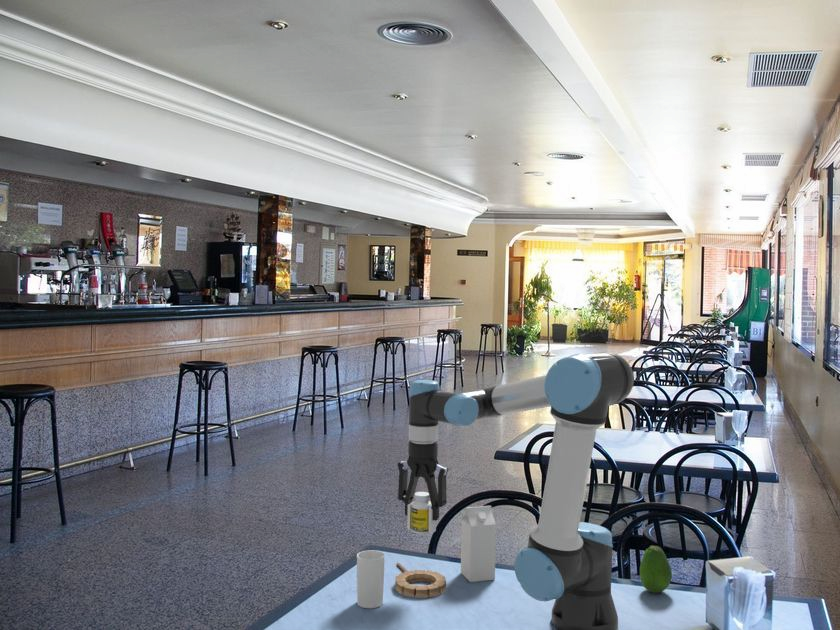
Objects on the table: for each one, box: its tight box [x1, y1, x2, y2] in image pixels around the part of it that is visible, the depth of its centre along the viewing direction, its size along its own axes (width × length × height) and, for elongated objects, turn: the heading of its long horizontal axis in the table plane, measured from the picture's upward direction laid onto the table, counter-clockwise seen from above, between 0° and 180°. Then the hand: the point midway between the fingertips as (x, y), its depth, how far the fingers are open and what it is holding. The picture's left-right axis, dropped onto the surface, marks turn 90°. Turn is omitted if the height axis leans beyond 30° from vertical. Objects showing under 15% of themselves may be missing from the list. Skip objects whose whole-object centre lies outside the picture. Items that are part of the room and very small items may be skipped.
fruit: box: [639, 545, 673, 594], centre depth 197 cm, size 8×8×12 cm
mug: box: [356, 549, 385, 609], centre depth 189 cm, size 10×7×12 cm, turn 168°
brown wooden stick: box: [396, 562, 408, 573], centre depth 209 cm, size 10×1×1 cm, turn 22°
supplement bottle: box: [411, 491, 432, 535], centre depth 197 cm, size 5×5×10 cm
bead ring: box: [394, 569, 447, 599], centre depth 198 cm, size 13×13×2 cm
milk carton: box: [460, 505, 497, 583], centre depth 206 cm, size 7×7×19 cm
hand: (421, 530), depth 197 cm, fingers closed on supplement bottle, 5 cm apart
